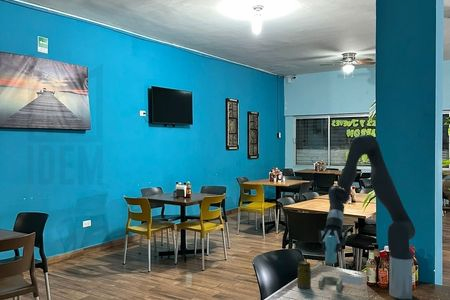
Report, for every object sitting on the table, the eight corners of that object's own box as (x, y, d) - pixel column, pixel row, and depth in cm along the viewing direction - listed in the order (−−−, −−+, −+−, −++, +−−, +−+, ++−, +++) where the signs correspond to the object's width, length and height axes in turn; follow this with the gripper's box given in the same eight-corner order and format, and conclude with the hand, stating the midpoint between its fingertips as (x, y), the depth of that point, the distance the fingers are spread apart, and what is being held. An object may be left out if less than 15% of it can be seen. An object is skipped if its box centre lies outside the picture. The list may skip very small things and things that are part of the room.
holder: (343, 285, 190) (343, 277, 190) (339, 292, 181) (339, 284, 180) (321, 282, 194) (321, 274, 194) (317, 288, 185) (317, 281, 185)
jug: (337, 260, 188) (337, 235, 188) (334, 265, 182) (334, 238, 181) (326, 259, 191) (326, 234, 190) (323, 263, 184) (323, 237, 184)
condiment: (303, 284, 190) (303, 259, 190) (317, 289, 184) (318, 263, 184) (293, 288, 186) (293, 262, 185) (307, 293, 179) (307, 266, 179)
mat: (363, 278, 199) (363, 277, 199) (360, 286, 189) (360, 284, 189) (340, 275, 203) (340, 274, 203) (336, 282, 193) (336, 281, 193)
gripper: (319, 215, 197) (313, 245, 186) (349, 217, 190) (345, 248, 180) (321, 224, 201) (316, 253, 191) (350, 226, 195) (347, 257, 185)
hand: (330, 251), depth 185 cm, fingers closed on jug, 5 cm apart
